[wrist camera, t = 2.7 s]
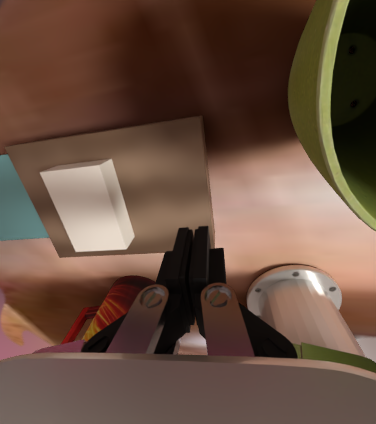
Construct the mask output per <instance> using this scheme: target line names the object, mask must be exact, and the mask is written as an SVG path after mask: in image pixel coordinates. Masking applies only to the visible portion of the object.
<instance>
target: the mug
mask: <svg viewBox="0 0 376 424" xmlns="http://www.w3.org/2000/svg"><path fill="white" fill-rule="evenodd" d="M151 285H155V282H154V281H152V280H150V279H148V278H145V277H141V276H125V277H122V278H120V279H118V280H117V281H116V282H115V283H114V284H113V286H112V287H111V289H110V291H109V293H108V294H107V296H106V298H105V300H104V301H103V303H102V305H101V306H95V307H87V308H84V309H83V310H82V312H81V313H80V315H79V316H78V318H77V319H76V321H75V322H74V324H73V326H72V327H71V329H70V331H69V332H68V334H67V336H66V337H65V339H64V340H63V342H62V343H61V344H65V343H69V342H73V341H74V340H75V338H76V336H77V335H78V333H79V331H80V330H81V328H82V326H83V325H84V323H85V321H86V320H87V319H90V318H94V319H93V321H92V322H91V324H90V326H89V328H88V329H87V331H86V333H85V334H84V336H83V338H82V340H83V339H85V341H88V340H89V339H90V338H91V337H92V336H94V335H95V334H96V333H98V332H99V331H101V330H102V329H104V328H105V327H107V326H108V325H109V324H111V323H112V322H114V321H115V320H117V319H118V318H120V317H121V316H123V315H124V314H126V313H127V312H128V311H129V310H130V308H131V306H132V304H133V303H134V301H135V299H136V297H137V296H138V294H139V293H140V291H142V290H143V289H144V288H146V287H148V286H151Z"/></svg>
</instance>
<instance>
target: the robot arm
mask: <svg viewBox="0 0 376 424" xmlns="http://www.w3.org/2000/svg"><path fill="white" fill-rule="evenodd" d="M246 300H247V307H248V309H247V308H245V307H244V306H242V305H241V304H240V303H238V301H237V297H236V294H235V292H234V290H233V289H232V288H231V287H230V286H229V285H227V284H226V272H225V260H224V248H213V249H211V243H210V235H209V227H208V226H199V227H198V229H195V233H194V235H193V230H192V229H190V230H189V227H183V228H179V229H178V232H177V236H176V240H175V244H174V247H173V251H166V252H165V255H164V258H163V261H162V264H161V267H160V271H159V274H158V277H157V280H156V283H155V285H151V286H148V287H146V288H144V289H143V290H142V291H140V293H139V294H138V296H137V297H136V299H135V301H134V303H133V304H132V306H131V308H130V310H129V311H128V312H127V313H126V314H124V315H123V316H121V317H120V318H118V319H117V320H115V321H114V322H112V323H111V324H109V325H108V326H107V327H105V328H104V329H102V330H101V331H99V332H98V333H96V334H95V335H94V336H92V337H91V338H90V339H89V340H88V341H85V339H83V340H78V341H74V342H69V343H65V344H60V345H56V346H52V347H47V348H43V349H40V350H38V351H35V352H34V353H32V354H26V355H20V356H15V357H11V358H7V359H3V360H0V424H376V363H375V362H374V361H372V360H371V359H368V358H367V357H366V356H365V354H364V352H363V351H362V349H361V347H360V346H359V344H358V342H357V341H356V339H355V337H354V336H353V334H352V332H351V331H350V329H349V327H348V326H347V324H346V322H345V321H344V319H343V317H342V316H341V314H340V312H339V311H338V310H339V308H340V306H341V302H342V295H341V290H340V289H339V287H338V285H337V284H336V282H335V281H334V280H333V278H332V277H331V276H329V275H328V274H327V273H325V272H323V271H322V270H320V269H317V268H314V267H311V266H304V265H288V266H282V267H278V268H274V269H272V270H270V271H267V272H265V273H264V274H262V275H261V276H259V277H258V278H257V279H256V280H255V281H254V282H253V283H252V284H251V286H250V287H249V289H248V292H247V298H246ZM195 316H196V321H197V325H198V327H199V333H200V334H201V335H202V336H203V337H204V338H205V339H206V345H207V353H208V355H177V354H178V350H179V347H180V341H181V340H180V338H181V337H182V336H183V335H184V334H185V333H190V326H191V325H194V323H195Z"/></svg>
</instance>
